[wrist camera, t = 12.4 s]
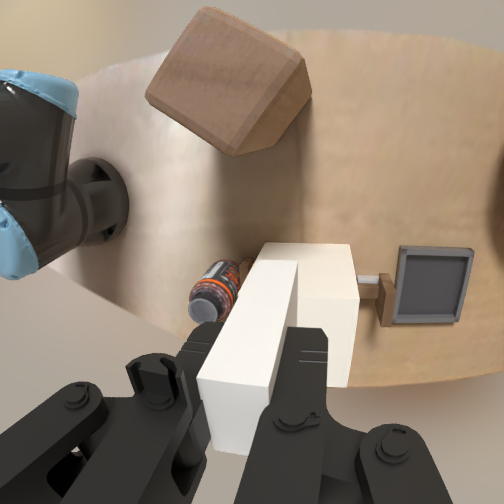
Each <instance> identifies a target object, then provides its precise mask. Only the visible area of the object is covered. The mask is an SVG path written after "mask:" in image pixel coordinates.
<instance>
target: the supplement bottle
mask: <svg viewBox="0 0 504 504" xmlns="http://www.w3.org/2000/svg"><path fill="white" fill-rule="evenodd" d="M240 289H241V287H240V272H239V265H237V264H236V263H235V262H232V261H230V260H220V261H217V262H215V263H214V264H213V265H212V266H211V267H210V268H209V269H208V270H207V272H206V273H205V274H204V275H203V276H202V278H201V279H200V280H199V281H198V282H197V283H196V285H195V286H194V287H193V288H192V290H191V292H190V296H189V302H190V304H189V307H188V312H189V315H190V317H191V318H192V319H193V320H194V321H195V322H196V323H198V324H200V325H201V324H202V323H204V322H205V321H210V322H215V321H219V320H221V319H223V318H225V317H226V316H227V315H228V314H229V312H230V311H231V309H232V307H233V305H234V304H235V302H236V300H237V298H238V292H239V290H240Z"/></svg>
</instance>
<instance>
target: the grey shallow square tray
mask: <svg viewBox="0 0 504 504" xmlns="http://www.w3.org/2000/svg"><path fill="white" fill-rule="evenodd" d="M473 257H474V251H473V250H472V249H471V248H454V247H428V246H400V248H399V257H398V265H397V273H396V280H395V287H394V288H395V290H396V293H397V295H396V301H395V307H394V313H393V318H392V323H443V322H458V321H459V318H460V314H461V310H462V307H463V303H464V299H465V295H466V290H467V286H468V282H469V277H470V272H471V267H472V262H473Z"/></svg>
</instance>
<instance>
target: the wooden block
mask: <svg viewBox="0 0 504 504" xmlns="http://www.w3.org/2000/svg"><path fill="white" fill-rule="evenodd" d="M311 94H312V89H311V84H310V80H309V76H308V72H307V68H306V64H305V60H304V58H303V57H302V55H301V54H300V53H299V52H298V51H297V50H295V49H293V48H292V47H290V46H288V45H287V44H285V43H283V42H282V41H280V40H278V39H276V38H275V37H273V36H271V35H269V34H267V33H266V32H264V31H262V30H260V29H258V28H256V27H254V26H253V25H251V24H248V23H247V22H245V21H243V20H241V19H239V18H236V17H235V16H232V15H230V14H228V13H226V12H224V11H222V10H220V9H218V8H215V7H203V8H202V9H200V10H199V11H198V12H197V13H196V15H195V16H194V17H193V19H192V20H191V22H190V23H189V24H188V26H187V27H186V29H185V30H184V31H183V33H182V34H181V36H180V37H179V39H178V40H177V42H176V43H175V45H174V46H173V48H172V49H171V51H170V52H169V54H168V55H167V57H166V58H165V60H164V61H163V63H162V65H161V66H160V68H159V69H158V71H157V73H156V74H155V76H154V78H153V79H152V81H151V83H150V84H149V86H148V88H147V89H146V93H145V98H146V100H147V101H148V102H149V104H150V105H152V106H153V107H155V108H156V109H158V110H159V111H161V112H162V113H164V114H166V115H167V116H169V117H170V118H172V119H173V120H175V121H176V122H178V123H179V124H181V125H182V126H184V127H185V128H187V129H188V130H190V131H191V132H193V133H194V134H196V135H197V136H199V137H200V138H202V139H203V140H205V141H206V142H208V143H209V144H211V145H212V146H214V147H215V148H216V149H218V150H219V151H221V152H222V153H224V154H225V155H230V156H238V155H242V154H246V153H250V152H254V151H258V150H262V149H266V148H270V147H272V146H274V145H275V144H276V143H277V141H278V140H279V139H280V137H281V136H282V135H283V133H284V132H285V131H286V129H287V128H288V126H289V125H290V124H291V122H292V121H293V120H294V118H295V117H296V116H297V114H298V113H299V112H300V110H301V109H302V108H303V106H304V105H305V104H306V102H307V101H308V100H309V98H310V97H311Z"/></svg>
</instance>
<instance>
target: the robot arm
mask: <svg viewBox="0 0 504 504" xmlns="http://www.w3.org/2000/svg"><path fill="white" fill-rule="evenodd" d="M78 95H79V91H78V88H77V86H76V85H75V84H74V83H73V82H71V81H69V80H66V79H63V78H60V77H56V76H52V75H47V74H42V73H37V72H29V71H19V70H13V69H12V70H11V69H4V70H1V71H0V275H1V276H2V277H4V278H6V279H8V280H19V279H21V278H23V277H25V276H26V275H29V274H33V273H35V272H36V271H37V270H39V269H40V268H42V267H44V266H45V265H47V264H49V263H50V262H52V261H54V260H55V259H57V258H59V257H60V256H62V255H64V254H65V253H67V252H69V251H70V250H72V249H74V248H76V247H82V246H97V245H102V244H104V243H106V242H108V241H110V240H112V239H113V238H115V237H116V236H117V235H118V234H119V233H120V232H121V231H122V229H123V227H124V225H125V223H126V220H127V216H128V207H129V204H128V195H127V190H126V187H125V184H124V182H123V180H122V178H121V176H120V174H119V173H118V172H117V170H116V169H115V168H114V167H113V166H112V165H111V164H110V163H108V162H107V161H105V160H103V159H100V158H94V157H91V158H85V159H80V160H77V161H75V162H73V163H72V164H70V165H69V166H68V164H69V156H70V149H71V142H72V135H73V129H74V123H75V120H76V119H77V115H76V108H77V102H78ZM297 305H298V261H286V260H258V261H257V263H256V265H255V267H254V269H253V271H252V273H251V275H250V276H249V278H248V280H247V282H246V284H245V286H244V288H243V290H242V292H241V294H240V296H239V297H238V299H237V301H236V303H235V305H234V307H233V309H232V311H231V313H230V315H229V317H228V318H227V320H226V322H225V323H221V322H210V321H205V322H204V323H202V324H201V325H199V326H198V327H196V328H195V329H194V330H193V331H192V333H191V334H190V336H189V337H188V339H187V342H185V343H184V345H183V346H182V348H181V351H179V353H178V354H177V356H176V357H174V356H171V355H168V354H163V353H152V354H147V355H142V356H140V357H138V358H136V359H134V360H132V361H131V362H130V363H129V364H127V365H126V370H127V373H128V376H129V379H130V381H131V384H132V387H133V389H134V392H135V394H134V396H133V397H103V395H102V393H101V391H100V389H99V388H98V387H97V386H96V385H95V384H92V383H90V382H75V383H71V384H69V385H67V386H65V387H63V388H62V389H60V390H59V391H58V392H56V393H55V394H54V395H52V396H51V397H50V398H49V399H47V400H46V401H45V402H43V403H42V404H40V405H39V406H38V407H36V408H35V409H34V410H32V411H31V412H30V413H28V414H27V415H26V416H24V417H23V418H22V419H20V420H19V421H18V422H16V423H15V424H14V425H12V426H11V427H10V428H8V429H7V430H6V431H4V432H3V433H2V434H0V504H191V503H192V500H193V497H194V495H195V493H196V490H197V488H198V486H199V483H200V481H201V478H202V475H203V472H204V470H205V468H206V463H207V458H206V455H205V451H206V448H207V445H208V443H209V441H210V440H211V444H212V448H213V450H217V451H223V452H228V453H234V454H240V455H247V456H248V459H247V462H246V465H245V469H244V472H243V475H242V478H241V482H240V485H239V488H238V491H237V494H236V498H235V501H234V504H453V502H452V500H451V498H450V496H449V493H448V491H447V489H446V487H445V484H444V482H443V480H442V478H441V475H440V473H439V471H438V469H437V467H436V465H435V463H434V460H433V459H432V456H431V454H430V452H429V450H428V448H427V446H426V444H425V442H424V440H423V439H422V437H421V436H420V435H419V434H418V433H417V432H416V431H415V430H413V429H411V428H410V427H408V426H404V425H400V424H384V425H381V426H378V427H375V428H373V429H372V430H370V431H369V432H368V433H364V432H360V431H357V430H353V429H350V428H348V427H345V426H343V425H341V424H339V423H338V422H337V421H335V420H334V419H333V418H332V417H331V415H330V414H329V412H328V410H327V407H326V390H327V368H328V337H327V336H326V334H325V333H324V331H323V330H322V328H307V327H297ZM75 447H78V448H79V450H80V451H78V452H71V451H72V450H73V449H74V448H75Z"/></svg>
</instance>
